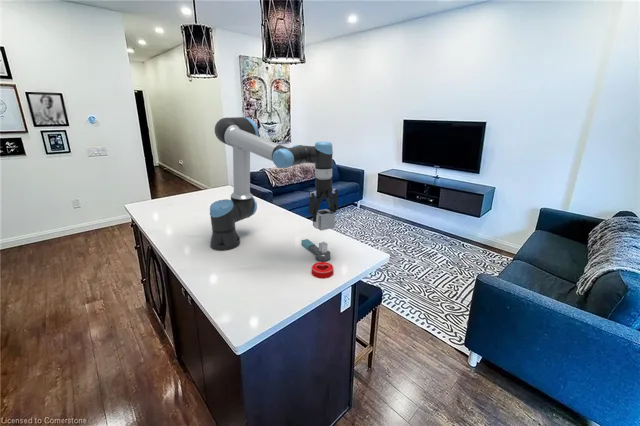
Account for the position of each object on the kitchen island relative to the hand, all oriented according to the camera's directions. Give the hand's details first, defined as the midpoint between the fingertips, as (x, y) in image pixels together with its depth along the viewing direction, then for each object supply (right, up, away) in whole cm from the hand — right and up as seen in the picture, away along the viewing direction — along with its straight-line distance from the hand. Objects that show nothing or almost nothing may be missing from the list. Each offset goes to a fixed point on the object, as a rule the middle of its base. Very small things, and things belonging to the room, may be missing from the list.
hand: (323, 226), depth 137 cm
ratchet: (-4, -14, +12) cm, 19 cm away
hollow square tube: (0, 0, 0) cm, 0 cm away
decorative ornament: (-1, -21, -7) cm, 22 cm away
